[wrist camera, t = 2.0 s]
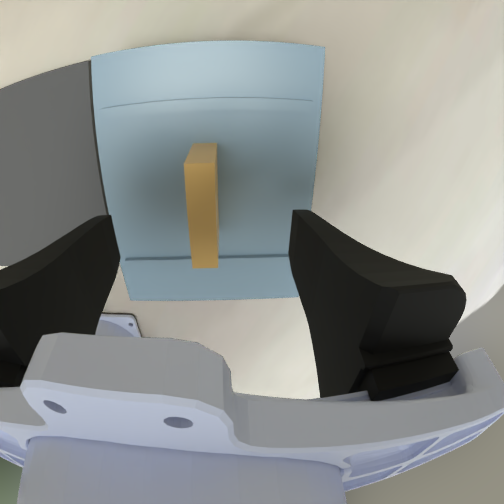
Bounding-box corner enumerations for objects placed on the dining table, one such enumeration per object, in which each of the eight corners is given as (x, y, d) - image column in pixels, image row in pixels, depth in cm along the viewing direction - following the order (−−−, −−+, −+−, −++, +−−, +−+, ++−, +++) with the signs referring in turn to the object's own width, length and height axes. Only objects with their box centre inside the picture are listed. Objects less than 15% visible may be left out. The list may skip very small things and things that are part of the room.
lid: (293, 280, 22) (309, 335, 17) (135, 283, 21) (118, 339, 17) (315, 49, 13) (352, 42, 9) (104, 57, 12) (57, 56, 8)
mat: (119, 261, 24) (118, 264, 23) (2, 262, 23) (0, 265, 22) (91, 60, 15) (88, 60, 14) (-38, 107, 14) (-41, 108, 13)
